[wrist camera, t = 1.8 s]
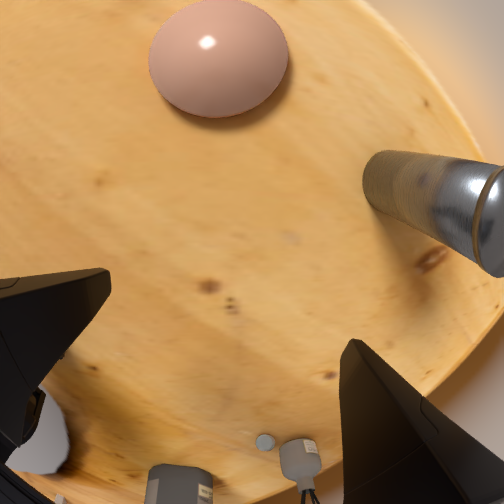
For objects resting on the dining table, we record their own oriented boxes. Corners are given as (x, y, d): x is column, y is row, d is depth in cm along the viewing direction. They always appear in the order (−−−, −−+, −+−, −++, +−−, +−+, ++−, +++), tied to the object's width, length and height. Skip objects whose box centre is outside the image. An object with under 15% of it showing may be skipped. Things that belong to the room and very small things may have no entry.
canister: (406, 219, 21) (517, 282, 10) (354, 205, 20) (466, 271, 9) (420, 159, 19) (543, 187, 8) (369, 140, 19) (497, 149, 7)
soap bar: (272, 128, 18) (274, 127, 17) (140, 111, 17) (136, 109, 16) (294, 16, 15) (297, 11, 14) (169, 0, 14) (167, -5, 13)
